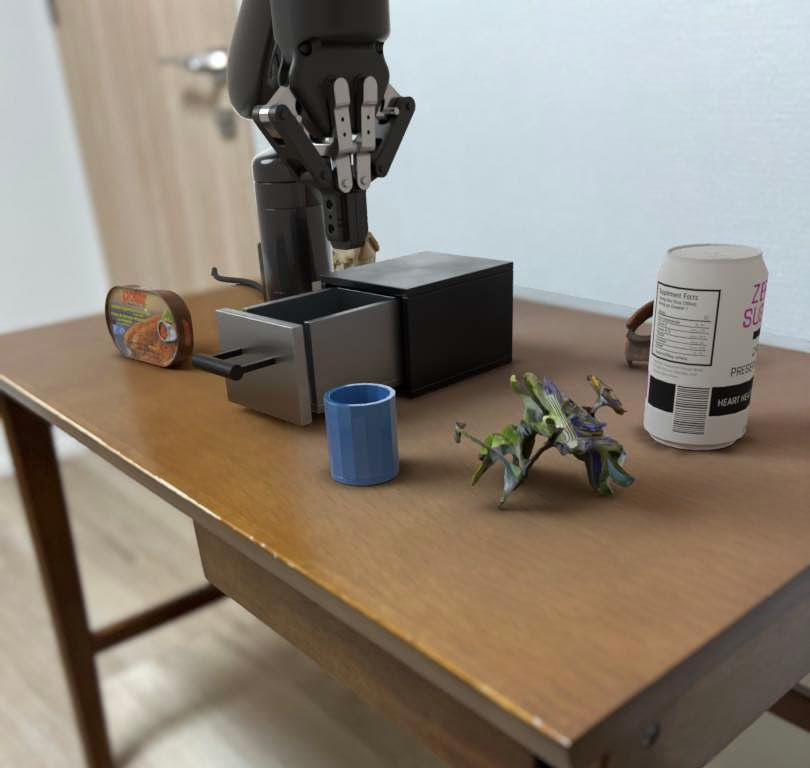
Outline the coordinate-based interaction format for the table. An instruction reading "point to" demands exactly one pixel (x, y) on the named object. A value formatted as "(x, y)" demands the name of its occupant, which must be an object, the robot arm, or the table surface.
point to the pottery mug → (635, 343)
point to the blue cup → (362, 433)
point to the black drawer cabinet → (443, 313)
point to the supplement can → (704, 344)
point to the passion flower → (555, 436)
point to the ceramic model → (356, 255)
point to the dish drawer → (307, 349)
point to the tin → (149, 324)
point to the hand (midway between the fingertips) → (348, 247)
